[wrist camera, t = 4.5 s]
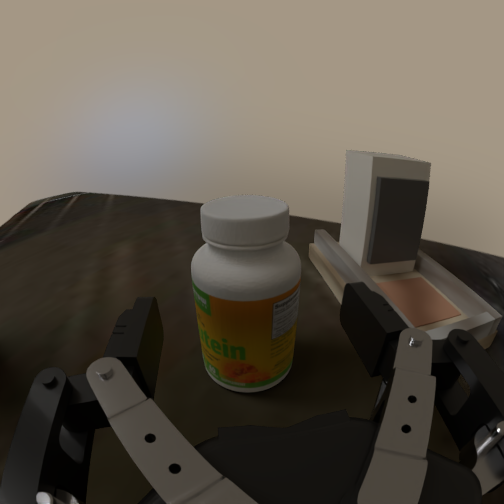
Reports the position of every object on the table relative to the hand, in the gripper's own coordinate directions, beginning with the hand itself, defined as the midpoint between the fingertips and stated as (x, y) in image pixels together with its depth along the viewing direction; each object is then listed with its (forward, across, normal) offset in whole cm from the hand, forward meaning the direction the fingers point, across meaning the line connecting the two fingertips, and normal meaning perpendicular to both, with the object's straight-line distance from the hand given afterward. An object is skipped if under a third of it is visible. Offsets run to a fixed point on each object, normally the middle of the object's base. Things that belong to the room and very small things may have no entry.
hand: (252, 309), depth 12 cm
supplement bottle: (+3, 0, +6) cm, 7 cm away
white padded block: (+11, -13, +5) cm, 18 cm away
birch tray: (+8, -13, +6) cm, 16 cm away
